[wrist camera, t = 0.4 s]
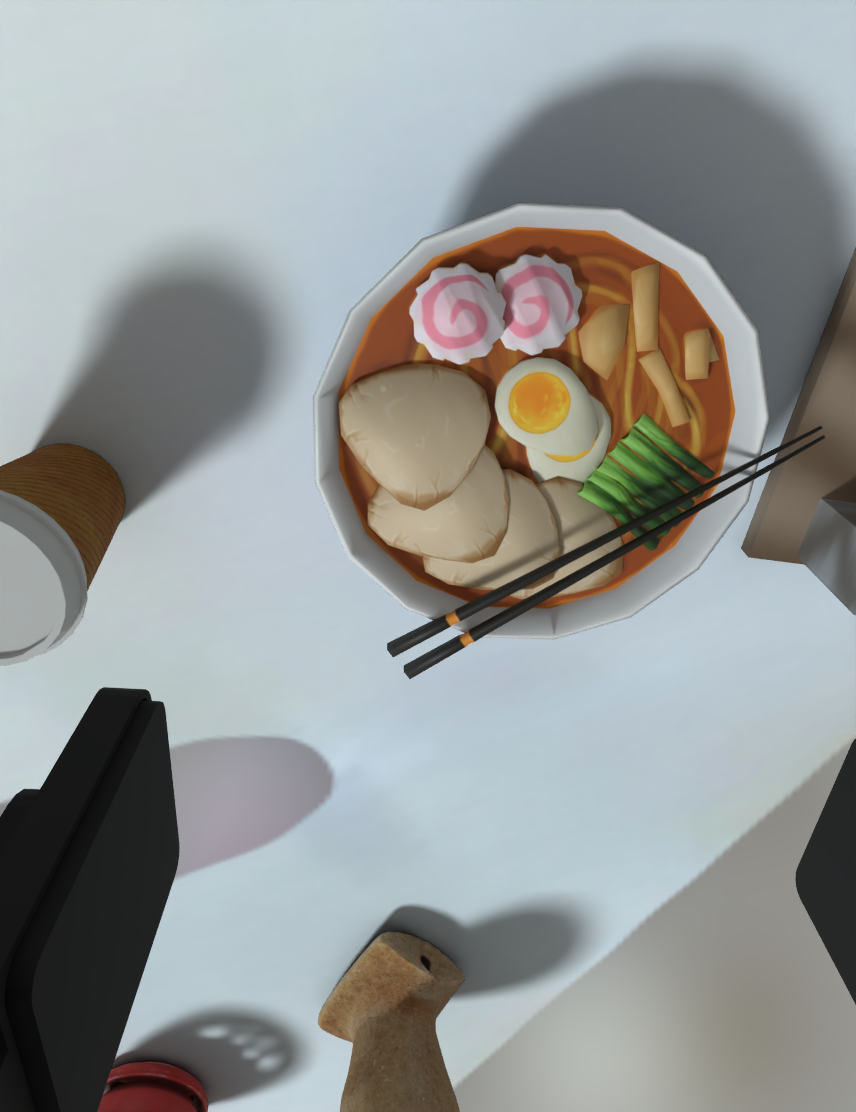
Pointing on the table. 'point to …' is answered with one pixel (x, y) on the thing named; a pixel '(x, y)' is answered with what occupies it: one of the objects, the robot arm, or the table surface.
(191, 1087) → the plant pot
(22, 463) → the disposable coffee cup
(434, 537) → the ramen bowl
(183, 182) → the table surface
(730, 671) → the table surface
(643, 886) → the table surface
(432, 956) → the brown boot-shaped piece
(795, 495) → the bench
